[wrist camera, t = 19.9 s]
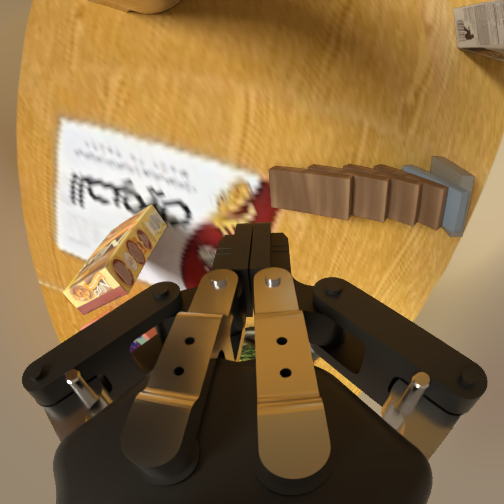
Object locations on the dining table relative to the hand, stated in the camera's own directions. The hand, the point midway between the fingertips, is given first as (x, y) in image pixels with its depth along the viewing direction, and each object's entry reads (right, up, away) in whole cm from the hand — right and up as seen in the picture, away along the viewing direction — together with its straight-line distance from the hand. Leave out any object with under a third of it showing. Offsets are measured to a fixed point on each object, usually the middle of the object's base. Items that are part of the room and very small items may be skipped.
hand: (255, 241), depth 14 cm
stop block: (+25, +9, +23) cm, 35 cm away
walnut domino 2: (+7, +8, +24) cm, 26 cm away
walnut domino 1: (+3, +8, +24) cm, 26 cm away
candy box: (-17, +3, +29) cm, 34 cm away
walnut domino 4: (+16, +8, +23) cm, 29 cm away
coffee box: (+31, +29, +10) cm, 43 cm away
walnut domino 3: (+12, +8, +23) cm, 27 cm away
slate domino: (+20, +9, +23) cm, 32 cm away
